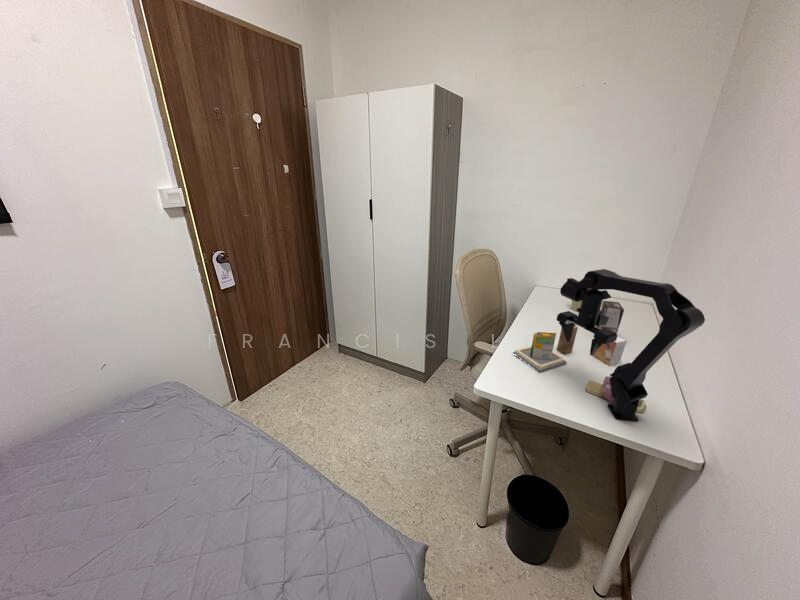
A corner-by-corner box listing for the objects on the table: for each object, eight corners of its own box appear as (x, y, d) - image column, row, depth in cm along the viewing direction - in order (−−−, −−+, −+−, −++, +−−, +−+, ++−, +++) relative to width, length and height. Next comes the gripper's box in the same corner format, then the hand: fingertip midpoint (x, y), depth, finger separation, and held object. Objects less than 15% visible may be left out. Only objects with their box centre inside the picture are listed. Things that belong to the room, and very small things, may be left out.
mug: (563, 308, 178) (568, 287, 174) (576, 305, 182) (581, 284, 177) (581, 316, 169) (586, 294, 164) (594, 313, 173) (600, 291, 168)
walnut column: (571, 353, 137) (578, 327, 132) (564, 355, 135) (570, 328, 130) (563, 348, 140) (569, 322, 135) (556, 350, 138) (562, 324, 134)
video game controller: (608, 390, 117) (602, 372, 116) (623, 390, 114) (617, 372, 113) (603, 405, 110) (597, 386, 109) (619, 406, 107) (613, 386, 106)
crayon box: (548, 355, 132) (554, 329, 128) (550, 359, 130) (556, 333, 125) (529, 354, 133) (534, 328, 128) (531, 358, 130) (537, 332, 126)
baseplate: (566, 364, 129) (567, 359, 128) (539, 373, 123) (540, 368, 122) (538, 347, 141) (539, 342, 140) (512, 354, 135) (513, 349, 134)
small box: (591, 355, 135) (598, 332, 131) (601, 353, 137) (608, 330, 133) (609, 366, 128) (616, 342, 124) (619, 363, 130) (627, 340, 126)
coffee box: (614, 343, 144) (624, 310, 138) (597, 341, 146) (607, 307, 140) (609, 334, 152) (619, 301, 146) (594, 332, 154) (602, 299, 148)
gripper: (634, 314, 104) (620, 356, 110) (582, 293, 120) (572, 331, 126) (611, 320, 100) (598, 364, 106) (560, 298, 115) (551, 337, 121)
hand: (579, 348), depth 115 cm, fingers open, 9 cm apart
